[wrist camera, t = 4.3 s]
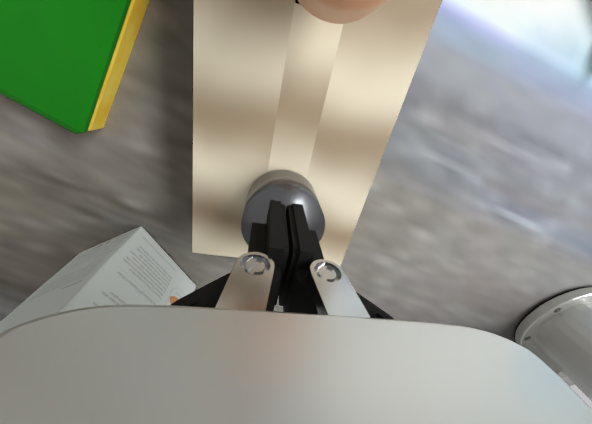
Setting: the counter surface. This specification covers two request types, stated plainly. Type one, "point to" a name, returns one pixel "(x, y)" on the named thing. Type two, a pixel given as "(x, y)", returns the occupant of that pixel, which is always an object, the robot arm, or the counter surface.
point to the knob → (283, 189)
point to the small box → (108, 279)
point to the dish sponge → (67, 56)
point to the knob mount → (295, 107)
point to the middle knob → (341, 9)
